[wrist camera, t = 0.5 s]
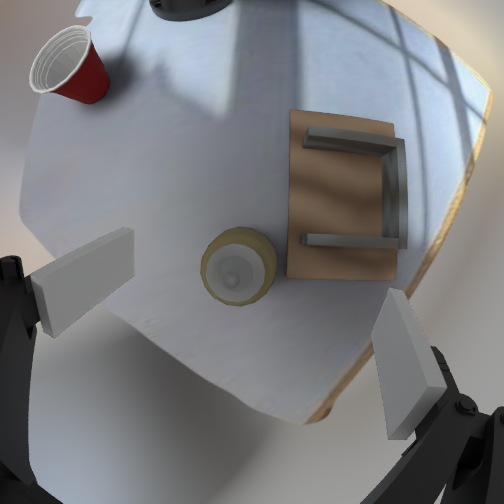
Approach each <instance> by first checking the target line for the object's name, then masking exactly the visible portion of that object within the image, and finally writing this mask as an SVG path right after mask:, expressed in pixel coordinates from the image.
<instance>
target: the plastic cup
mask: <svg viewBox="0 0 504 504" xmlns="http://www.w3.org/2000/svg"><path fill="white" fill-rule="evenodd" d="M30 85H31V87H32V89H33V90H34V91H35V92H39V93H47V92H51V93H52V92H53V93H57V94H59V95H62V96H65V97H68V98H70V99H74V100H77V101H79V102H82V103H85V104H92V103H95V102H97V101H98V100H100V99H101V98H102V97H103V96H104V95H105V94H106V92H107V90H108V88H109V85H110V81H109V77H108V74H107V72H106V71H105V69H104V65H103V64H102V62H101V60H100V58H99V56H98V54H97V52H96V50H95V48H94V45H93V43H92V40H91V34H90V31H89V30H88V29H87V28H86V27H84V26H77V25H76V26H71V27H69V28H66V29H64V30H62V31H60V32H59V33H57V34H56V35H55V36H53V37H52V38H51V39H50V40H49V41H48V42H47V43H46V44H45V45H44V46H43V48H42V49H41V50H40V52H39V54H38V55H37V57H36V58H35V60H34V62H33V65H32V68H31V71H30Z"/></svg>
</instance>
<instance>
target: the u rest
mask: <svg viewBox="0 0 504 504" xmlns="http://www.w3.org/2000/svg"><path fill="white" fill-rule="evenodd" d="M407 236H408V190H407V168H406V153H405V142H404V139H399V138H395V133H394V124H392V123H387V122H382V121H377V120H371V119H365V118H359V117H352V116H345V115H338V114H330V113H321V112H312V111H301V110H290V159H289V209H288V240H287V264H286V278H290V279H331V280H395V279H396V265H397V249H407Z"/></svg>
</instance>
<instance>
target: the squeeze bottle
mask: <svg viewBox="0 0 504 504" xmlns="http://www.w3.org/2000/svg"><path fill="white" fill-rule="evenodd" d="M276 265H277V257H276V254H275V250H274V246H273V245H272V244H271V242H270V241H269V240H268V239H267V237H266V236H265V235H264V234H262V233H260V232H258V231H256V230H255V229H253V228H245V227H236V228H233V229H229V230H226V231H224V232H223V233H222V234H220V235H219V236H218V237H217V238H216V239H214V240H213V241H212V242H211V243H210V245H209V246H208V248H207V249H206V251H205V253H204V255H203V257H202V261H201V271H200V273H201V276H202V280H203V283H204V286H205V288H206V289H207V290H208V291H209V293H210V294H211V295H212V296H213V297H214V298H215V299H217V300H219V301H221V302H222V303H224V304H226V305H233V306H244V305H248V304H251V303H255V302H256V301H257V300H259V299H260V298H261V297H262V296H264V295H265V294H266V293H267V291H268V289H269V288H270V286H271V284H272V282H273V280H274V277H275V273H276Z"/></svg>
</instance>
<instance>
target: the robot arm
mask: <svg viewBox="0 0 504 504" xmlns="http://www.w3.org/2000/svg"><path fill="white" fill-rule="evenodd" d="M230 1H231V0H149V3H150V6H151V8H152V10H153V12H154V13H155V14H156V15H157V16H158V17H160V18H162V19H165V20H170V21H187V20H193V19H198V18H202V17H205V16H208V15H210V14H213V13H215V12H217V11H219V10H221V9H222V8H224V7H225V6H226V5H227V4H228V3H230ZM132 277H134V229H130V228H125V227H122V228H120V229H117V230H115V231H113V232H111V233H109V234H107V235H105V236H103V237H101V238H98V239H96V240H94V241H92V242H90V243H88V244H86V245H84V246H82V247H80V248H78V249H76V250H74V251H72V252H70V253H68V254H66V255H64V256H63V257H61V258H59V259H57V260H55V261H53V262H51V263H49V264H47V265H46V266H44V267H42V268H40V269H38V270H37V271H35V272H33V273H31V274H30V275H28V276H26V277H25V278H24V273H23V267H22V261H21V258H20V257H18V256H12V255H11V256H6V257H3V258H0V504H63V503H62V502H60V501H59V500H57V499H56V498H55V497H53V496H52V495H51V494H49V493H48V492H47V491H45V490H44V489H43V488H42V487H40V486H39V485H38V484H37V481H36V478H35V475H34V473H33V471H32V469H31V466H30V462H29V444H28V411H29V391H30V380H31V369H32V361H33V354H34V346H35V340H36V334H37V328H36V325H35V324H36V323H37V322H39V321H41V325H42V328H43V332H44V333H46V334H48V335H49V336H51V337H53V338H56V337H57V336H58V335H60V334H61V333H62V332H63V331H64V330H66V329H67V328H68V327H69V326H71V325H72V324H73V323H74V322H76V321H77V320H78V319H79V318H81V317H82V316H83V315H84V314H85V313H87V312H88V311H89V310H91V309H92V308H93V307H94V306H96V305H97V304H98V303H100V302H101V301H102V300H103V299H105V298H106V297H107V296H109V295H110V294H111V293H113V292H114V291H115V290H116V289H118V288H119V287H120V286H122V285H123V284H124V283H126V282H127V281H128V280H130V279H131V278H132ZM370 335H371V340H372V344H373V349H374V354H375V359H376V365H377V370H378V375H379V381H380V387H381V393H382V399H383V406H384V412H385V420H386V428H387V436H388V440H407V438H408V437H409V436H410V435H411V434H412V433H413V432H414V430H415V434H416V440H415V441H414V442H413V443H412V444H411V445H410V446H409V447H408V448H407V449H406V451H405V452H404V453H403V454H402V457H401V459H400V460H399V461H398V462H397V463H396V465H395V466H394V467H393V468H392V470H391V471H390V472H389V473H388V474H387V475H386V476H385V478H384V479H383V480H382V481H381V482H380V483H379V484H378V485H377V486H376V487H375V488H374V490H373V491H372V492H371V493H370V494H369V495H368V496H367V497H366V498H365V499H364V500H363V501H362V502H361V503H360V504H434V502H435V501H436V499H437V498H438V496H439V494H440V493H441V491H442V489H443V488H444V486H445V484H446V487H445V490H444V493H443V496H442V499H441V503H440V504H504V407H502V406H501V407H498V408H497V409H496V410H495V411H494V413H493V414H492V415H491V416H490V415H487V414H484V413H480V412H479V411H478V407H477V405H476V403H475V402H474V401H473V400H472V399H471V398H470V397H469V396H466V395H464V394H460V393H459V390H458V388H457V385H456V383H455V381H454V378H453V376H452V374H451V372H450V369H449V367H448V365H447V363H446V360H445V359H444V356H443V354H442V353H441V352H440V351H439V350H438V349H437V348H436V347H433V346H430V345H429V343H428V340H427V338H426V336H425V334H424V332H423V330H422V327H421V325H420V323H419V321H418V319H417V317H416V315H415V313H414V311H413V309H412V307H411V305H410V303H409V301H408V299H407V297H406V295H405V293H404V292H403V290H398V289H394V288H389V289H388V292H387V295H386V297H385V300H384V302H383V305H382V308H381V310H380V313H379V315H378V318H377V320H376V322H375V325H374V327H373V329H372V332H371V334H370Z"/></svg>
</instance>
